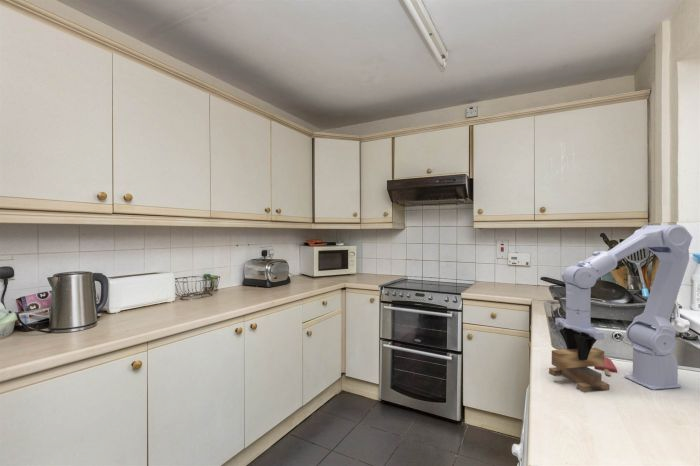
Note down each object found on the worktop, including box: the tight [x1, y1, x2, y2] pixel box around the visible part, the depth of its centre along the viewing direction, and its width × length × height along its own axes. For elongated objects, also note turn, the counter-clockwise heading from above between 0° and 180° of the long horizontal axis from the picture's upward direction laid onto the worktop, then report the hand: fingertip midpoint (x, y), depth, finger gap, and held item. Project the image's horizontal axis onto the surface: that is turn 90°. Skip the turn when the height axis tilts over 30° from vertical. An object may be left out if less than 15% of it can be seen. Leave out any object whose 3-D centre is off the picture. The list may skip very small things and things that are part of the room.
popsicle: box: [593, 356, 618, 377], centre depth 104 cm, size 5×2×15 cm
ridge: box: [548, 366, 611, 393], centre depth 94 cm, size 8×12×4 cm, turn 9°
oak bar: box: [551, 347, 605, 369], centre depth 94 cm, size 14×3×4 cm, turn 99°
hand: (577, 357), depth 94 cm, fingers closed on oak bar, 3 cm apart
